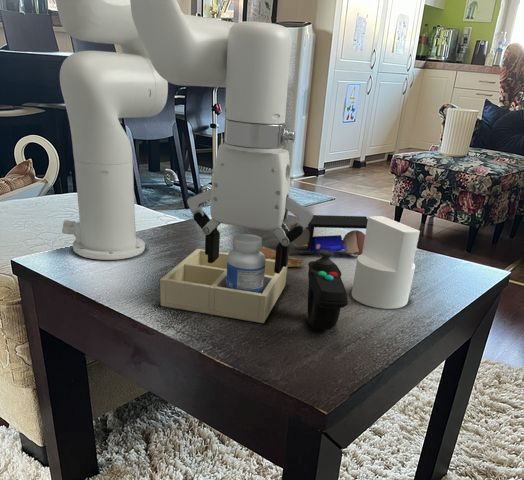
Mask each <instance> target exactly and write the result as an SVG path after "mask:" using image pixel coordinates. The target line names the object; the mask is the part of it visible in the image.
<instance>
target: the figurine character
mask: <svg viewBox="0 0 524 480" xmlns="http://www.w3.org/2000/svg"><path fill="white" fill-rule="evenodd" d="M367 222H368V217H367V216H365V215H364V216H363V215H330V214H329V215H325V214H313V218H312V220H311V221H310V223H309V224H308V226H307V227H306V229H305V230H304V231H303V233H302V234H301V235H300V236H299V237H298V238H296V239H295V240H294V241H292V243H293V244H294V245H296V246H298V250H301V251H300V252H299V254H301V255H307V254H308V255H310V254H316V253H319V251H320V250H330V251H332V252H342V251H344V252H345V253H346V254H347V255H349V256H351V257H358V256H359V255H362V252H363V246H364V240H365V234H366V233H364V232H363V231H361V230H362V229H363V230H364V229H365V230H366V228H367ZM298 223H299V220H297V221H294V222H293V223H291V224H290V226H289V230H292V229H293V228H294V227H295V226H297V224H298ZM315 228H325V229H333V228H334V229H354V230H350V231H348V232H347V233H346V234H344V236H343V238H342V235H341V234H337V235H336V234H335V235H314V232H315ZM356 229H361V230H356Z"/></svg>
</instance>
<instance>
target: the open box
mask: <svg viewBox="0 0 524 480" xmlns="http://www.w3.org/2000/svg"><path fill="white" fill-rule="evenodd" d="M229 253H230V252H221V251H219V257H218V259H216V260H215V261H214V262H213V263H208V255H205V249H203V248H196V249H195V250H194V251H192V252H191V253H190V254H189V255H187V256H186V257H185V258H184V259H183V260H181V261H180V262H179V263H178V264H177V265H176V266H174V267H173V268H172V269H171V270H169V271H168V272H167V273H166V274H165V275H163V276H162V277H161V278H160V279H159V281H160V282H159V287H160V288H159V289H160V291H159V293H160V306H161V307H166V308H172V309H178V310H184V311H189V312H196V313H201V314H207V315H211V316H218V317H225V318H231V319H237V320H242V321H246V322H247V321H248V322H255V323H260V324H264V323H265V322H266V321H267V318H268V317H269V315H270V313H271V311H272V310H273V308H274V306H275V305H276V304H277V302H278V299H279V298H280V296H281V294H282V292H283V290H284V289H285V287H286V282H287V273H288V267H287V266H286V267H283V269H282V270H281V272H280V273H279V274H277V273H275V272H274V268H275V260H270V259H266V260H265V273H264V284H263V293H262V294H261V293H255V292H249V291H243V290H237V289H230V288H226V280H227V258H228V254H229Z"/></svg>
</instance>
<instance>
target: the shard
mask: <svg viewBox="0 0 524 480" xmlns="http://www.w3.org/2000/svg"><path fill="white" fill-rule="evenodd" d="M260 252H262V253H263V254H264V256H265V259H270V260H275V257H276V249H272V248H269V247H266V246H264V245H262V248H261V250H260ZM303 262H304V260H302V259H299V258H297V257H293V256H290V255H289V256H288V264H287V268H292V267H296V268H299V267H300V266H301V263H303Z"/></svg>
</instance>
